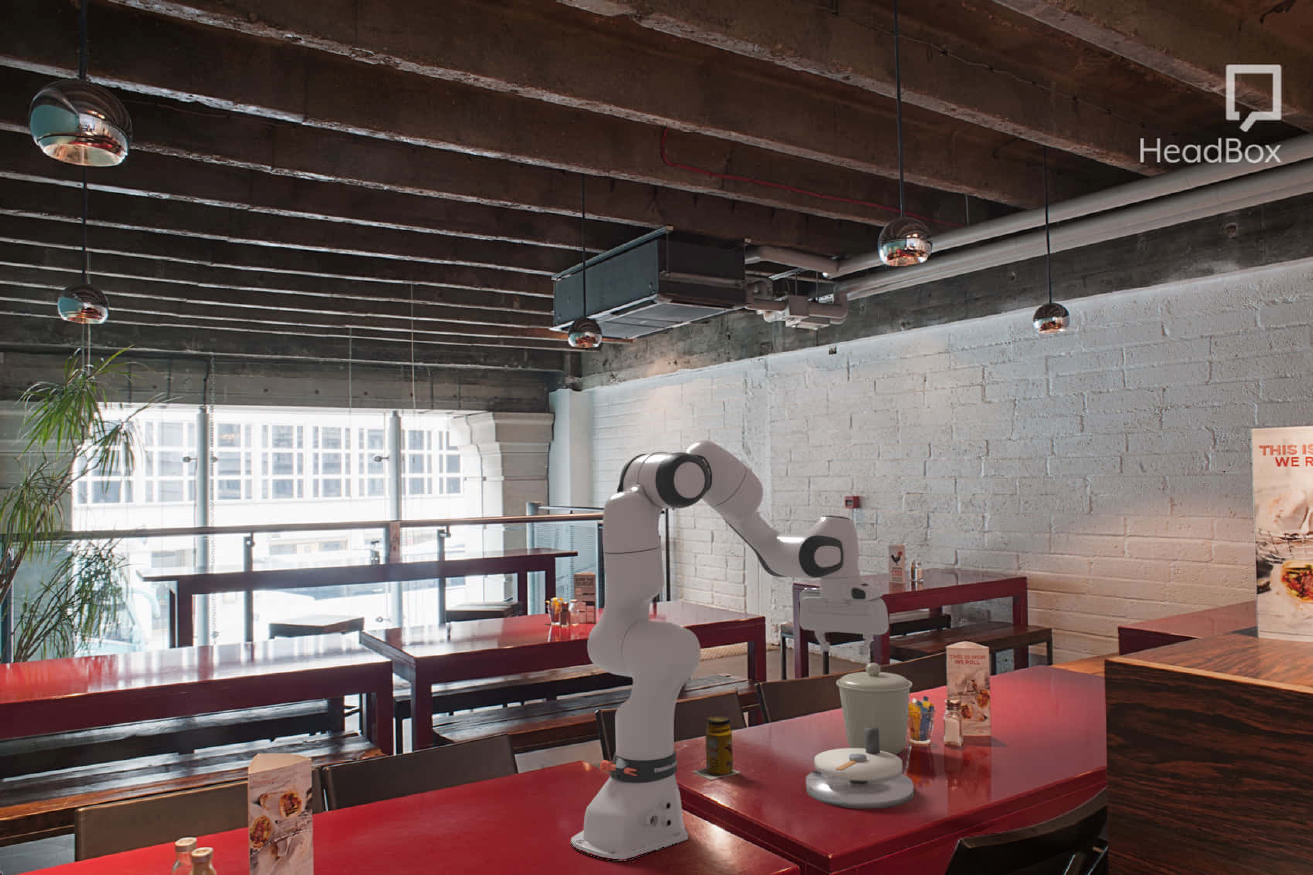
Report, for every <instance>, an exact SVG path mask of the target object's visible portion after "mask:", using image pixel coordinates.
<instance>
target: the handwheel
mask: <svg viewBox="0 0 1313 875" xmlns="http://www.w3.org/2000/svg"><path fill="white" fill-rule="evenodd" d="M865 745H866V749H863V748H851V747H844V748H834V749H830V750H826V751H825V750H824V751H822V752H820V753H818V754H816V755H815V757H814V767H815V768H814V769H815V770H817V771H819V772H820V773H822V774H825V775H827V776H831V777H835V778H839V779H846V780H858V781H872V780H882V779H888V778H892V777H895V776H897V775H899V774H900V773H901V774H902V772H903V760H902V759H901V757H899V756H897V754H896V755H893V754H891V753H888V752H884V751H880V742H879V728H876V727H866V728H865Z"/></svg>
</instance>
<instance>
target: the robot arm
mask: <svg viewBox="0 0 1313 875" xmlns="http://www.w3.org/2000/svg"><path fill="white" fill-rule="evenodd" d="M763 495H764V488H763V484H762V483H761V481H760V480H759V477H757V475H756V473H754V472H753V471H752V470H751V469H750V468H749V467H748V466H746V464H744V462H742V461H741V460H740V459H738V458H737V457H736V456H735V455H734V454H732V453H731V452H729V451H728V450H726V449H725V448H723V447H721V446H720V445H718V444H716V443H715V442H713V441H710V440H706V439H704V440H703V439H702V440H699V441H695V442H694V443H692V444H691V445H689V446H688V447H687V448H686V450H685V451H684V452H679V451H678V452H668V451H654V452H650V453H642V454H641V453H640V454H639V455H635V456H634V457H632V458H631V459H629V461H627V462H626V463H625V465H624V466H623V468H622V470H621V473H620V477H619V484H618V485H617V489H616V493H615V494H613V495H612V496H610V497H609V498H608V499H606V501H605V503H604V506H603V512H602V513H603V515H602V550H603V559H604V572H605V585H606V586H605V589H606V592H605V602H604V606H603V611H602V614H601V616H600V618H599V620H598V622H597V623H596V624H595V625H594V626H593V627H592V629H591V630H590V633H589V634H588V638H587V644H586V645H587V646H586V647H587V648H586V649H587V654H588V657H589V659H590V661H591V662H592V664H593V665H594V666H596V667H598V668H600V669H602V670H603V671H605V672H608V673H609V674H612V675H617V676H623V677H629V678H632V687H631V693H630V694H629V698H628V699H627V700H626V701H624V702H623V703H621V705H620V706H619V707H618V708H617V710H616V711H615V717H614V719H615V720H614V722H615V723H614V724H615V752H614V754H613V756H612V761H608V760H606V759H603V760H602V761H600V764H599V765H600V766H599V770H600V771H601V772H605V773H609V778H608V779H607V780H606V782H605V783H604V784H603V786H602V787H601V789H600V790H599V791H598V792H597V794H596V795H595V796H594V797H593V799H592V801H591V802H590V803H589V805H587V807H586V809H585V812H584V819H583V820H584V821H583V830H582V831H580V832H578V833H577V834H574V836H572V837H571V838H570V844H571V843H572V845H573V846H574V847H576V848H577V849H579V850H583V851H585V852H587V853H592V854H594V855H598V856H601V857H607V858H613V859H627V858H630V857H635V856H637V855H639V854H643V853H647V852H650V851H653V850H656V851H658V850H661V849H663V848H662V847H664V848H667V847H670V846H672V844H673V845H676V844H679V843H681V842H684V841H686V840H689V835H688V831H687V829H686V826H685V823H684V816H683V808H682V807H683V806H682V800H681V799H682V798H681V793H680V789H679V786H678V783H677V777H676V773H677V772H678V759H677V752H676V750H675V742H674V741H675V740H674V737H675V736H674V735H675V734H674V733H675V732H674V731H675V729H674V725H675V724H674V723H675V722H674V721H675V709H676V704H677V701H678V700H677V699H678V697H679V694H680V691H681V690H682V687H683V686H684V685H685V683H686V682H687V681H688V680H690V679H691V678H692V677H693V676H694V674H695V673H696V671H697V670H698V668H699V665H700V663H701V655H702V653H701V652H702V648H701V644H700V641H699V639H698V637H697V635H696V634H695V633H694V632H693V631H692V630H690V629H687V628H685V627H683V626H680V625H678V624H676V623H672V622H666V621H665V622H664V621H655V620H650V610H651V609H650V608H651V604H652V601H653V599H654V598H655V597H657V596H658V595H659V594H660V593H661V592H662V591H663V588H664V585H665V575H664V574H665V573H664V566H663V557H662V547H661V544H662V543H661V538H660V531H659V524H660V523H659V522H660V517H661V515H662V513H663V510H666V509H684V508H685V509H686V508H688V507H690V506H691V507H692V506H693V505H695V504H696V503H698V502H699V501H700V500H703V502H705V503H706V504H707V505H709V507H711V508H712V509H713V510H714V511H715V512H716V513H718V514H719V516H721V517H722V519H723V520H724V521H725V523H726V524H727V525H728V526H729V527H730V528H731V529H732V530H733V531H734V532H735V534H737V535H738V536H739V537H740V538H741V539H742V540H743V541H744V542H745V543H746V545H748V546H749V548H751V550H753V553H754V554H755V555H756V557H757V558H758V561H759V563H760V564H761V567H762V568H763V569H764V571H766V572H767V573H768V575H771V576H772V577H776V578H783V577H784V578H785V577H786V578H787V577H789V578H790V577H791V578H792V577H793V578H801V579H802V578H803V579H818V578H819V587H816V588H812V587H805V588H804V589H802V590H801V591H800V592H799V604H800V606H799V621H798V622H799V626H800V628H801V629H802V630H805V631H814V636H815V638H816V640H817V641H818V643H819V647H820V650H819V651H820V652H829V651H830V649H831V647H830V646H831V643H830V642H829V641H827V640H826V638H825V636H824V635H825V634H826V633H825V632H833V633H843V634H844V633H845V634H846V633H848V634H859V635H862V638H863V640H864V642H863V643H862V644H861V645H859V647H858V650H859V655H863V656H868V655H869V654H870V644H871V643H872V641H873V639H874V636H876V635H877V636H881V635H884V634H886V633H887V632H888V631H889V628H890V625H889V616H888V615H889V614H888V608H887V605H886V603H885V601H884V600H883V598H881V597H883V595H884V590H883V588H882V587H881V586H879V585H876V584H873V583H871V582H869V581H866V580H863V579H861V572H860V570H859V565H858V564H859V556H860V554H859V553H860V552H859V540H858V533H857V529H856V526H855V522H854V521H853V520H852V519H850V518H849V517H848V516H841V515H822V516H820V517H819V518H818V520H817V522H815V524H814V525H813V526H812V527H810V528H809V529H807V530H805V531H803V532H799V533H798V532H785V531H780V530H776V529H774V528H772V526H770V525H769V524H768V523H767V522H766V521H765V520H764V519H763V518H762V517H761V516H760V515H759V514H758V512H757V511H758V509H759V507H760V505H761V503H762V500H763ZM675 843H676V844H675ZM572 845H571V846H572ZM573 846H572V847H573ZM574 847H573V848H574ZM660 848H661V849H660ZM577 849H576V850H577ZM579 850H578V851H579ZM653 852H654V851H653ZM650 853H651V852H650ZM647 854H648V853H647ZM635 858H636V857H635Z"/></svg>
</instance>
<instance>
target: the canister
mask: <svg viewBox="0 0 1313 875" xmlns="http://www.w3.org/2000/svg"><path fill="white" fill-rule="evenodd" d="M835 684H836V686H837V687H838V688H839V689H838V690H839V697H840V703H841V707H842V708H841V709H842V716H843V722H844V723H843V724H844V728H845V734H846V738H847V739H846V740H847V743H848V745H849V748H863V749H866V745H865V728H866V727H876V728H879V742H880V751H884V752H888V753H891V754H893V755H896V756H897V755H899V754H901V752H903V751H904V749H905V747H906V742H907V735H908V724H909V723H908V722H909V707H910V704H909V703H910V692H911V691H910V689H911V688H912V687H913V682H912V681H911V680H908V679H907V678H906V677H904V676H902V675H899V674H897V673H891V672H884V671H881V666H880V665H879V663H876V662H870V663H868V664H867V665H866V666H865V671H860V672H858V671H857V672H851V673H848V674H845V675H843V676H842V677H841V678H839V679H837V680H836V682H835Z"/></svg>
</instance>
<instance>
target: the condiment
mask: <svg viewBox="0 0 1313 875" xmlns="http://www.w3.org/2000/svg"><path fill="white" fill-rule="evenodd" d="M730 721H731V720H730V718H728V717H726V716H718V715H717V716H710V717H708V718H707V720H706V730H705V735H704V736H705V760H706V761H705V762H706V766H705V768H704V767H703V768H701V769H694V770H692V771H691V772H692V773H694V774H696V775H698V776H701V777H702V778H706V779H708V780H715V779H719V778H723V777H730V776H735V775H738V774H740V773H741V772H740V771H738V770H735V769H733V768H734V767H733V766H734V765H733V762H734V761H733V760H734V759H733V733H732V730H731V724H730V723H731V722H730Z"/></svg>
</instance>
